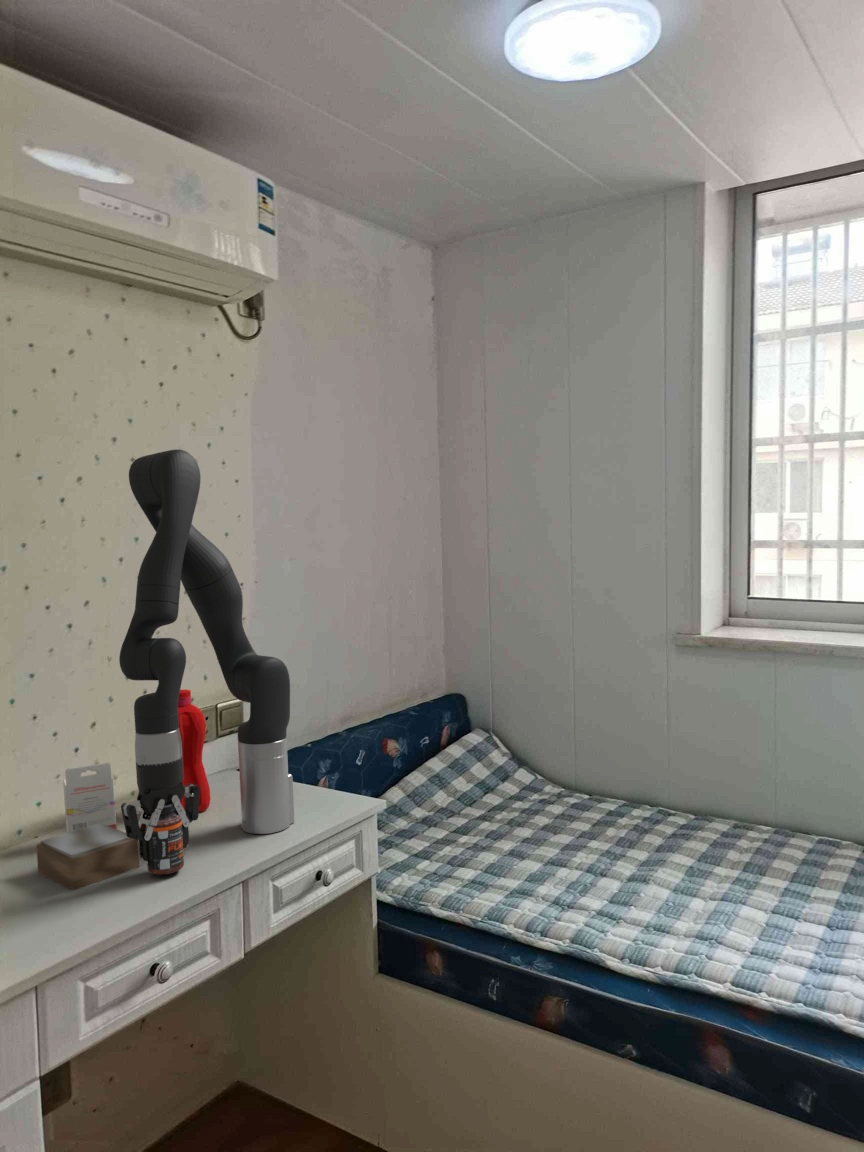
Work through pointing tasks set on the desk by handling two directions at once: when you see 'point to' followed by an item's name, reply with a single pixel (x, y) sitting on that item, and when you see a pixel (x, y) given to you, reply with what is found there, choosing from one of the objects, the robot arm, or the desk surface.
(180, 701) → the water bottle
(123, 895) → the desk surface
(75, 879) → the wooden rimmed tray
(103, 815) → the ink cartridge box
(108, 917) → the desk surface
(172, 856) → the supplement bottle
